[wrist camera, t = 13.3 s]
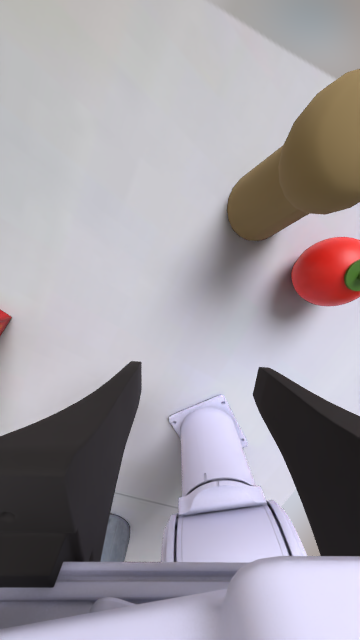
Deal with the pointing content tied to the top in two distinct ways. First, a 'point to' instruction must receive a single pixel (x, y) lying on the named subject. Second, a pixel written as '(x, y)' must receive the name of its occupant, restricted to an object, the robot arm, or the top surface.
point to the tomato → (329, 272)
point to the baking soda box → (3, 321)
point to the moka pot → (115, 540)
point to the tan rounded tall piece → (305, 166)
